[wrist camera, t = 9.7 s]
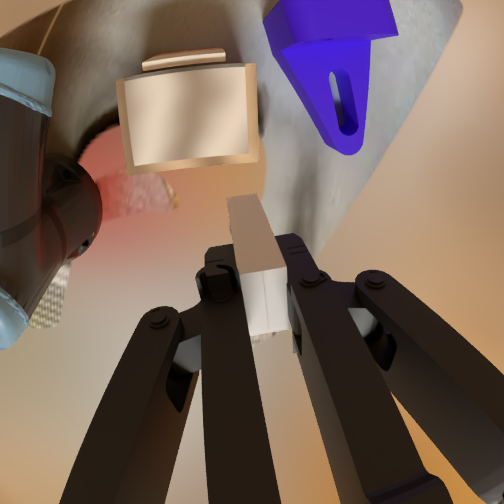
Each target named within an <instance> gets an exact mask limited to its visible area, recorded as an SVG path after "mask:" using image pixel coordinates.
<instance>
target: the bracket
mask: <svg viewBox="0 0 504 504" xmlns="http://www.w3.org/2000/svg"><path fill="white" fill-rule="evenodd" d="M263 24H264V28H265V31H266V34H267V37H268V41H269V44H270V48H271V51H272V54H273V56H274V58H275V59H276V61H277V62H278V64H279V65H280V67H281V68H282V70H283V72H284V73H285V75H286V76H287V78H288V80H289V81H290V83H291V84H292V86H293V88H294V89H295V91H296V93H297V94H298V96H299V98H300V99H301V101H302V103H303V105H304V106H305V108H306V110H307V111H308V113H309V115H310V117H311V118H312V120H313V122H314V124H315V126H316V127H317V129H318V131H319V133H320V135H321V137H322V139H323V140H324V142H325V143H326V144H327V145H328V146H330V147H331V148H333V149H335V150H337V151H338V152H340V153H342V154H344V155H353V154H355V153H357V152H358V151H359V150H360V149H361V147H362V145H363V139H364V130H365V120H366V110H367V98H368V85H369V70H370V48H371V40H375V39H380V38H386V37H392V36H397V35H398V31H397V27H396V23H395V19H394V16H393V12H392V9H391V5H390V2H389V0H280V1H279V2H278V3H277V4H276V5H275V7H274V8H273V9H272V10H271V11H270V13H269V14H268V15H267V16H266V18H265V19H264V20H263ZM330 72H333V74H334V75H335V78H336V82H337V86H338V91H339V95H340V100H341V105H342V110H343V115H344V125H343V126H342V128H340V129H339V126H338V121H337V116H336V111H335V106H334V101H333V96H332V92H331V88H330V83H329V74H330Z"/></svg>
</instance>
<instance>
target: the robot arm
mask: <svg viewBox="0 0 504 504" xmlns="http://www.w3.org/2000/svg"><path fill="white" fill-rule="evenodd" d="M55 77H56V73H55V68H54V66H53V64H52V63H51V62H50V61H49V60H48V59H46V58H45V57H42V56H40V55H36V54H32V53H28V52H24V51H19V50H14V49H8V48H0V350H4V349H7V348H9V347H12V346H13V345H14V344H15V343H16V341H17V340H18V338H19V337H20V335H21V334H22V333H23V331H24V329H26V328H27V326H28V324H29V320H30V318H31V316H32V314H33V312H34V310H35V309H36V307H37V305H38V303H39V302H40V300H41V298H42V296H43V295H44V293H45V291H46V290H47V288H48V286H49V285H50V283H51V281H52V280H53V278H54V277H55V275H56V273H57V272H58V270H59V268H60V267H61V266H63V265H65V264H66V263H68V262H70V261H72V260H73V259H75V258H77V257H79V256H80V255H81V254H83V253H84V252H85V251H86V250H87V249H88V248H89V246H90V245H91V244H92V242H93V240H94V239H95V237H96V236H97V234H98V231H99V229H100V225H101V221H102V204H101V198H100V195H99V192H98V189H97V187H96V185H95V183H94V181H93V179H92V178H91V176H90V175H89V174H88V173H87V171H86V170H85V169H84V168H83V167H82V166H81V165H79V164H78V163H77V162H75V161H74V160H72V159H70V158H68V157H65V156H62V155H56V154H49V155H45V147H46V139H47V132H48V126H49V120H50V117H52V110H51V104H52V96H53V90H54V84H55ZM227 205H228V211H229V218H230V225H231V232H232V239H233V244H228V245H222V246H215V247H210V248H209V249H208V251H207V252H206V253H205V267H203V268H202V269H201V270H199V271H198V273H197V274H196V278H195V279H196V283H197V287H198V291H199V294H200V298H201V301H200V302H199V303H198V304H197V305H195V306H194V307H192V308H190V309H188V310H186V311H183V312H180V313H178V311H177V310H176V309H174V308H173V307H168V306H162V307H157V308H154V309H151V310H150V311H148V312H147V313H145V314H144V315H143V317H142V318H141V319H140V321H139V323H138V325H137V327H136V329H135V331H134V333H133V335H132V337H131V339H130V341H129V343H128V345H127V347H126V349H125V351H124V353H123V355H122V357H121V359H120V361H119V363H118V365H117V367H116V369H115V371H114V373H113V375H112V378H111V380H110V382H109V384H108V386H107V388H106V390H105V392H104V395H103V397H102V399H101V401H100V404H99V406H98V408H97V410H96V412H95V415H94V417H93V419H92V422H91V424H90V426H89V428H88V431H87V433H86V435H85V438H84V441H83V443H82V445H81V447H80V450H79V452H78V455H77V457H76V460H75V462H74V465H73V467H72V470H71V473H70V476H69V478H68V481H67V483H66V486H65V489H64V491H63V494H62V497H61V500H60V503H59V504H165V500H166V496H167V492H168V488H169V484H170V480H171V476H172V473H173V469H174V465H175V461H176V457H177V454H178V449H179V445H180V442H181V438H182V434H183V431H184V427H185V424H186V420H187V416H188V412H189V409H190V405H191V401H192V398H193V394H194V390H195V387H196V383H197V380H198V376H199V370H200V369H201V372H202V402H203V403H202V405H203V428H204V446H205V462H206V476H207V488H208V500H209V504H281V500H280V495H279V490H278V485H277V480H276V475H275V470H274V465H273V459H272V454H271V449H270V444H269V439H268V433H267V428H266V423H265V417H264V413H263V407H262V401H261V396H260V391H259V385H258V379H257V374H256V368H255V364H254V357H253V351H252V346H251V340H250V336H253V335H259V334H265V333H270V332H276V331H281V330H286V329H290V324H291V327H292V333H293V353H296V352H297V356H298V359H299V362H300V365H301V369H302V372H303V375H304V378H305V382H306V385H307V389H308V392H309V395H310V399H311V402H312V406H313V409H314V412H315V416H316V419H317V423H318V426H319V429H320V433H321V436H322V440H323V443H324V446H325V450H326V453H327V457H328V460H329V464H330V467H331V471H332V474H333V478H334V481H335V485H336V488H337V492H338V495H339V499H340V503H341V504H453V502H452V499H451V497H450V494H449V492H448V489H447V488H446V486H445V484H444V482H443V481H442V480H441V479H440V478H439V477H437V476H435V475H432V474H430V473H428V472H427V471H426V469H425V467H424V466H423V463H422V461H421V459H420V456H419V454H418V452H417V449H416V447H415V445H414V442H413V440H412V438H411V436H410V433H409V431H408V429H407V427H406V425H405V422H404V420H403V418H402V416H401V414H400V412H399V410H398V407H397V405H396V403H395V401H394V399H393V397H392V395H391V393H392V394H393V395H394V396H395V397H396V398H397V400H398V401H399V402H400V403H401V405H402V406H403V407H404V408H405V409H406V411H407V412H408V413H409V414H410V415H411V416H412V418H413V419H414V420H415V421H416V423H418V425H419V426H420V427H421V429H422V430H423V431H424V432H425V433H426V435H427V436H428V437H429V438H430V439H431V441H432V442H433V443H434V444H435V445H436V447H437V448H438V449H439V450H440V452H441V453H442V454H443V455H444V456H445V458H446V459H447V460H448V461H449V463H450V464H451V465H452V466H453V467H454V469H455V470H456V471H457V472H458V473H459V475H460V476H461V477H462V478H463V480H464V481H465V482H466V483H467V485H468V486H469V487H470V488H471V489H472V490H473V492H474V493H475V494H476V495H477V496H478V497H479V498H481V499H482V500H483V501H484V502H486V503H487V504H504V375H503V374H502V373H501V372H500V371H499V370H498V369H497V368H496V367H495V366H494V365H493V364H492V363H491V362H490V361H489V360H488V359H486V358H485V357H484V356H483V355H482V354H481V353H480V352H479V351H478V350H477V349H476V348H475V347H474V346H473V345H471V344H470V343H469V342H468V341H467V340H466V339H465V338H464V337H463V336H462V335H460V334H459V333H458V332H457V331H456V330H455V329H454V328H452V327H451V326H450V325H449V324H448V323H447V322H446V321H444V320H443V319H442V318H441V317H440V316H439V315H438V314H436V313H435V312H434V311H433V310H432V309H430V308H429V307H428V306H427V305H426V304H425V303H423V302H422V301H421V300H420V299H418V298H417V297H416V296H415V295H414V294H413V293H411V292H410V291H409V290H408V289H406V288H405V287H404V286H403V285H402V284H400V283H399V282H398V281H397V280H395V279H394V278H393V277H392V276H390V275H389V274H387V273H385V272H383V271H379V270H367V271H363V272H361V273H360V274H358V275H357V277H356V279H355V282H337V281H333V280H331V278H330V276H329V275H328V274H327V273H326V272H324V271H322V270H319V269H318V267H317V265H316V264H315V262H314V260H313V258H312V256H311V254H310V253H309V252H308V249H307V247H306V246H305V244H304V242H303V240H302V238H300V237H299V236H297V235H296V234H294V233H291V234H285V235H279V236H274V234H273V232H272V229H271V227H270V224H269V222H268V219H267V217H266V215H265V212H264V210H263V207H262V205H261V203H260V200H259V198H258V195H257V194H250V195H244V196H237V197H230V198H227ZM289 320H290V322H289Z"/></svg>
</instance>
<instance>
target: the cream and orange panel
mask: <svg viewBox="0 0 504 504" xmlns="http://www.w3.org/2000/svg"><path fill="white" fill-rule="evenodd" d="M222 61H226V55H225V51H224V50H223V48H209V49H198V50H188V51H180V52H172V53H165V54H159V55H155V56H154V57H152V58H150V59H148V60H146V61H144V62H143V63H142V67H143V71H147V70H153V69H159V68H166V67H173V66H180V65H189V64H198V63H209V62H222Z"/></svg>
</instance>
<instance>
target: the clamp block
mask: <svg viewBox="0 0 504 504" xmlns="http://www.w3.org/2000/svg"><path fill="white" fill-rule="evenodd" d="M116 89H117V100H118V109H119V118H120V126H121V134H122V141H123V148H124V155H125V162H126V168H127V174H128V176H131V175H137V174H144V173H151V172H159V171H166V170H174V169H183V168H191V167H201V166H212V165H223V164H234V163H249V162H259V137H258V108H257V81H256V63H250V64H245V63H231V64H215V65H204V66H193V67H185V68H177V69H169V70H163V71H156V72H150V73H144V74H139V75H134V76H129V77H124V78H123V79H118V80H116Z"/></svg>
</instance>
